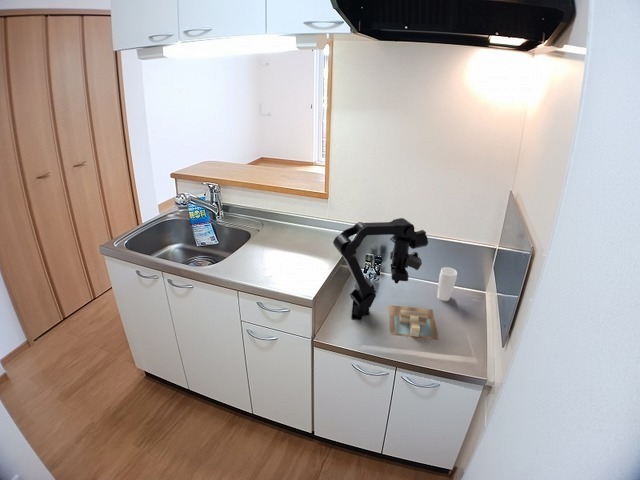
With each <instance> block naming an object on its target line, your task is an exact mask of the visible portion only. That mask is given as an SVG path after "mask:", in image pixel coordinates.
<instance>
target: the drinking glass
mask: <svg viewBox="0 0 640 480" xmlns="http://www.w3.org/2000/svg"><path fill="white" fill-rule="evenodd" d="M457 276H458V271H457V270H456V269H455V268H453V267H447V266H444V267H441V269H440V273H439V276H438V285H437V294H436V296H437V299H438V300H440V301H442V302H448V301H450V299H451V296H452V294H453V289H454V287H455V284H456V281H457Z"/></svg>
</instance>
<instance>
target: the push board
mask: <svg viewBox="0 0 640 480" xmlns="http://www.w3.org/2000/svg"><path fill="white" fill-rule="evenodd" d="M401 310H406V311H417V312H426V313H427V322H426V325H420V332H419V337H416V336H410V328H409V324H408V323H400V312H401ZM388 314H389V315H388V316H389V318H388V319H389V320H388V321H389V335H392V336H400V337H410V338H411V337H412V338H419V339H429V340H438V341H439V340H440V339H439V338H440V337H439V334H438V330H437V324H436V320H435V316H434V310H433V309H431V308H423V307H422V308H421V307H412V306H400V305H391V304H388Z"/></svg>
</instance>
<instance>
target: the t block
mask: <svg viewBox="0 0 640 480" xmlns="http://www.w3.org/2000/svg"><path fill="white" fill-rule="evenodd" d="M426 322H427V313H426V312H417V311H406V310H401V312H400V323H408V324H409V328H410V336H416V337H415V338H418V337H419V332H420V325H426Z"/></svg>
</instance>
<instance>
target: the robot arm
mask: <svg viewBox="0 0 640 480" xmlns="http://www.w3.org/2000/svg"><path fill="white" fill-rule="evenodd" d="M354 235H355V237H354V238H353V240H351V239H350V237H352V236H354ZM386 235H388V236H389V235H391V237H390V238H389V240H390V241H391V242H393V248H392V251H391V252H389V253H390V255H389V259H390V260H391V263H390V273H391V276H390V277H391V280H392V281H394V284H399V282H408V281H409V278H410V277H409V271H408V270H407V269H408V268H412V269H414V270H415V271H418V270H419V269H420V268H421V266H422V265H423V262H422V259H421V258H420V256H419V253H418V252H416V251H413V252H411V253H410V252H409V250H410V248H411V249H413V250H414V249H419V248H423V247H425V248H426V247H427V246H428V244H429V239H428V236H427V232H426V231H425V230H424V229H420V230H417V231H415V226H414V224H412V223H411V222H410V221H408V219H406V218H404V217H399V218H396V219H393V220H391V221H388V222H387V221H386V222H385V221H383V222H379V221H378V222H377V221H376V222H362V221H359V222H356V223H355V224H354V225H352V226H351V227H349V228H345V229H344V230H343V231H342V232H341V233H340V234H338V235H337V236H335V238H334V240H333V241H332V243H333V246H334V247H335V248H336V250H337V251H338V253H339V254H340V255H341V256H342V257H343V259H344V261H345V263H346V265H347V268H348V269H349V272H350V274H351V276H352V278H353V281H354V283H355V284H354V290H352V291H351V293H350V294H349V296H350V299H352V306H351V307H352V308H351V317H350V318H351V319H352V320H363V317H364V316H369V315H370V308H371V307H372V306H373V303H374V301H375V298H377V297H376V296H377V290H376V289H375V286H374V284H373V283H372V282H371V281H370V280H369V278H368V277H365V275H364V272H363V270H362V268H361V265H360V264H359V261H358V259H357V249H358V248H359V247H361V244H362V242H363V241H364V239H365V238H366V237H367V236H386ZM409 253H410V254H409Z"/></svg>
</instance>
